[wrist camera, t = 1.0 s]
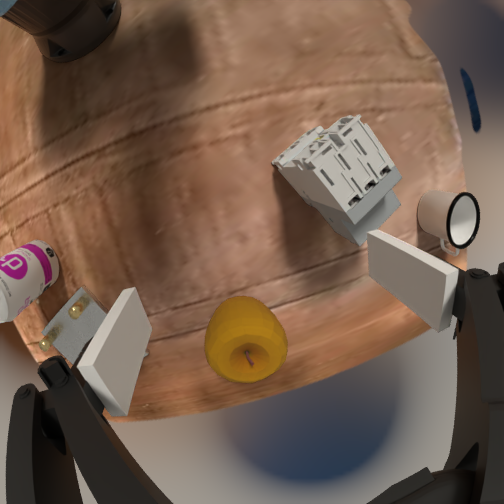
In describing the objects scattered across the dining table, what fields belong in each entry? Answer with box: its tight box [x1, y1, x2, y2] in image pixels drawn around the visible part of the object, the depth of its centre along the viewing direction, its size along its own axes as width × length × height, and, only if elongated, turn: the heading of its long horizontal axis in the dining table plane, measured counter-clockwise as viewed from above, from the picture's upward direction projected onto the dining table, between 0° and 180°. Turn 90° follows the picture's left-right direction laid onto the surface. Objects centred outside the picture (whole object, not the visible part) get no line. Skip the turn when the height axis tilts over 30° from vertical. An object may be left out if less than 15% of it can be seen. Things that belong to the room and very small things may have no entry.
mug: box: [417, 189, 480, 256], centre depth 39 cm, size 12×10×9 cm
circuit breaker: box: [271, 115, 402, 246], centre depth 32 cm, size 8×14×15 cm, turn 42°
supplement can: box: [0, 240, 59, 323], centre depth 30 cm, size 8×8×15 cm
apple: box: [205, 296, 288, 383], centre depth 38 cm, size 11×11×13 cm
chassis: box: [39, 285, 149, 364], centre depth 40 cm, size 16×16×5 cm
